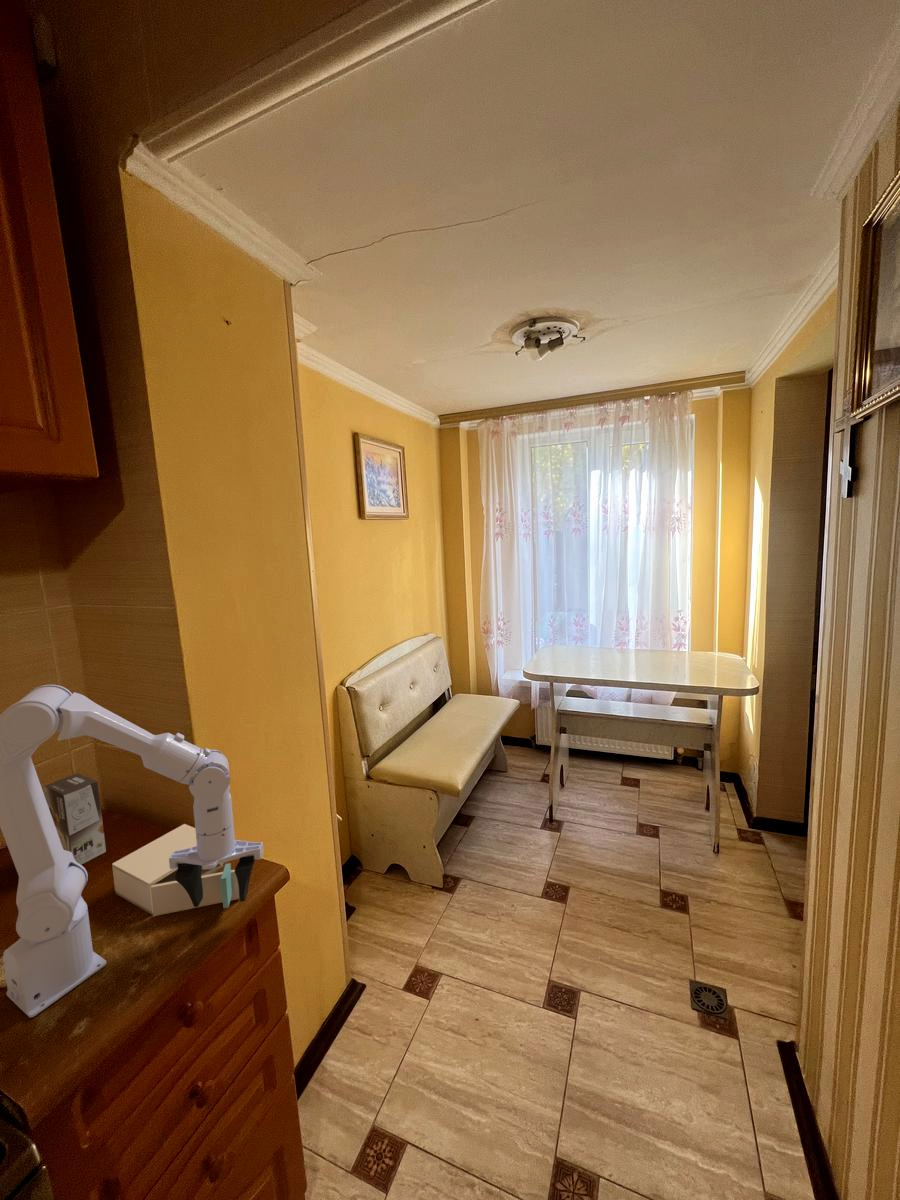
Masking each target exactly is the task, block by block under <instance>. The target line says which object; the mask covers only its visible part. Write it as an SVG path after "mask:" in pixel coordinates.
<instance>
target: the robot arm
mask: <svg viewBox="0 0 900 1200" xmlns="http://www.w3.org/2000/svg"><path fill="white" fill-rule="evenodd" d="M56 733H59V735H58V736H57V741H58V742H59V741H65V740H69V739H73V738H79V737H84V736H89V737H91V738H94V739H96V740H99V741H101V742H105V743H107V744H109V745H113V746H115V747H118V748H120V749H123V750H125V751H128V752H131V753H133V754H135V755H138V756H140V757H141V760H142V764H143V767H144V768H146V769H147V770H151V771H153V772H156V773H157V774H160V775H162V776H164V777H166V778H168V779H171V780H173V781H176V782H177V783H180V784H183V785H188V789H189V792H190V794H191V795H192V796H193V801H194V802H193V804H192V806H193V807H192V809H193V819H194V828H195V831H196V841H197V846H194V847H191V848H187V849H183V850H178V851H174V852H173V853H172V855H171V856H170V858H169V865H170V869H174V868H177V867H178V869H177V873H176V874H175V879H176V881H177V882H179V883H180V884H181V885H182V886H183V887H184V889H185V890H186V891H187V893H188V895H189V896H190V898H191V901H192V903H193V905H194V907H196V908H199V907H198V906H199V904H200V902H201V900H202V899H203V887H202V878H201V868H202V869H203V870H206V869H213V868H215V867H216V865H217V864H221V863H223V864H224V863H228V862H230V861H231V862H232V861H234V860H239V861H238V862H237V864H236V866H235V869H234V870H235V874H236V877H237V880H238V885H239V899H238V900H239V902H241V903H242V902H245V901H246V898H247V896H248V894H249V884H250V879H251V875H252V871H253V867H254V865H255V861H257V860H261V859H262V857H263V855H264V851H265V850H264V842H263V841H257V842H256V841H248V840H239V839H235V838H236V837H235V828H234V827H235V825H234V815H233V801H232V795H231V786H230V784H231V776H230V766H229V765H230V764H229V760H228V758H227V757H226V755H224V753H222V752H221V751H220V750H218V749H209V748H208V747H205V748H201V747H199V746H197V745H195V744H193V743H191V742H189V741H186V740H185V735H184V734H182V733H180V732H177V733H176V734H175V735H174V734H172V733H170V732H165V733H160V734H153V733H151V732H150V731H147V730H146V729H144V728H142V727H140V726H138V725H137V724H135V723H133V722H131V721H128V720H127V719H125V718H123V717H122V716H120V715H118V714H116V713H114V712H112V711H110V710H108V709H107V708H104V707H103V706H101V705H100V704H97V703H96V702H94V701H92V700H91V699H90V698H89V697H87V696H85V695H84V694H81V693H78V692H75V691H74V692H73V693H72V692H71V691H70V690H69V689H68V688H67V687H64V686H62V685H58V684H44V685H40V686H37V687H34V688H33V689H32V690H30V691H29V692H28V693H27V694H25V696H23V697H22V698H21V699H20V700H19V701H17V702H15V703H13V704H11V705H10V706H9V707H7V708H6V709H5V710H3V712H2V713H0V829H1V833H2V835H3V838H4V840H5V842H6V846H7V848H8V851H9V854H10V856H11V859H12V862H13V864H14V867H15V870H16V872H17V875H18V884H17V891H16V898H15V899H16V900H15V904H16V907H17V910H18V915H17V919H16V923H15V931H16V933H17V935H18V937H19V939H18V940H17V941H16V942H14V943H13V944H11V945H10V946H8V948H7V949H5V950H4V952H3V953H2V954H3V955H2V956H3V957H2V959H3V966H4V967H3V968H4V974H5V981H6V988H7V991H6V996H7V997H8V999H10V1001H12V1002H13V1003H14V1004H15V1005H16V1006H17V1007H18V1008H19V1009H20V1010H21V1011H22V1012H23V1013H24V1014H25V1015H27V1017H28V1018H34V1017H35V1016H37V1015H38V1014H40V1013H41V1012H42V1011H44V1010H45V1009H47V1008H48V1007H49V1006H51V1005H53V1004H54V1003H55V1002H56V1001H59V999H61V998H62V997H63V996H65V995H66V994H68V993H70V991H72V990H73V989H74V988H76V987H77V986H78V985H81V984H82V983H83V982H84V981H86V980H87V979H89V978H90V977H92V976H93V975H94V974H95V973H97V972H99V971H100V970H101V969H102V968H104V967H105V966H106V965H107V960H106V959H105V958H103V957H102V956H100V955H99V954H97V953H96V952H95V951H94V950H93V941H92V934H91V925H90V918H89V917H90V916H89V909H88V904H87V902H86V901H85V900H84V898H83V896H82V893H83V890H84V889H85V887H86V885H87V882H88V878H89V876H88V871H87V870H86V868H85V867H84V866H83V864H82V865H80V864H79V863H77V862H76V861H75V859H74V857H73V854H72V852H69V851H65V850H63V847H62V844H61V841H60V839H59V836H58V833H57V830H56V827H55V824H54V822H53V819H52V816H51V813H50V810H49V807H48V804H47V802H46V798H45V792H44V789H43V788H42V785H41V782H40V779H39V777H38V773H37V771H36V767H35V765H34V762H33V760H32V759H33V758H32V755H33V754H34V753H35V752H36V750H37V749H38V748H39V746H41V745H42V744H43V743H45V742H46V741H47V740H49V739H50V738H51V737H53V735H55V734H56Z"/></svg>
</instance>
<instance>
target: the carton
mask: <svg viewBox="0 0 900 1200" xmlns="http://www.w3.org/2000/svg"><path fill="white" fill-rule="evenodd" d="M194 846H197V841H196V831H195V827H194V826H190V825H189V824H186V823H183V824H181V825H180V826H178V827H176V828H175V829H172V830H171V831H169V832H167V833H165V834H163V835H162V836H160V837H158V838H156V839H154V840H153V841H151V842H149V843H147V844H146V845H144V846H141V847H139V848H138V849H137V850H134V851H133V852H130V853H129V854H127V855H125V856H123V857H121V858H120V859H118V860H116V861H114V862H113V863H111V866H112V874H113V875H112V876H113V884H114V892H115V895H117V896H118V897H121V898H123V899H124V900H126V901H127V902H129V903H130V904H133V905H134V906H136V907H138V908H140V909H141V910H143V911H145V912H147V914H150V915H152V916H154V913H153V904H152V894H151V886H152V885H156V884H161V883H166V882H172V881H176V879H175V874H176V873H177V869H178V867H177V868H174V869H170V865H169V858H170V856H171V855H172V853H173V852H174V851H178V850H183V849H187V848H191V847H194ZM224 867H225V864H224V863H221V864H217V865H216V867H215V868H213V869H206V870H203V869H202V868H201V876H204V875H209V874H214V873H217V872H218V871H220V869H223V868H224Z"/></svg>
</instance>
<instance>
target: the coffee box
mask: <svg viewBox="0 0 900 1200" xmlns="http://www.w3.org/2000/svg"><path fill="white" fill-rule="evenodd" d="M43 792H44V796H45V799H46V802H47V804H48V807H49V810H50V813H51V816H52V819H53V822H54V824H55V827H56V830H57V833H58V836H59V839H60V841H61V844H62V847H63V850H65V851H69V852H72V854H73V857H74V859H75V861H76V862H77V863H79V864H80V865H82V866H83V864H86V863H87V862H90V861H91V860H93V859H95V858H98V856H101V855H103V854H104V853H106V852H107V849H106V839H105V831H104V823H103V822H104V821H103V816H102V815H103V814H102V808H101V807H102V806H101V799H100V791H99V783H98V780H96V779H92V778H90V777H88V776H85V775H83V774H79V773H77V772H76V773H74V774H70V775H68V776H66V777H63V778H60V779H58V780H55V781H54V782H51V783H48V784H46V785H44V786H43Z"/></svg>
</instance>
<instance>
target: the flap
mask: <svg viewBox="0 0 900 1200" xmlns="http://www.w3.org/2000/svg"><path fill="white" fill-rule="evenodd" d="M231 864H232V863H231V862H229V863H228V862H227V863H225V864H224V867H223V868H224V869H223V871H221V872H215V873H213V874H209V875H204V876H201V878H202V887H203V899H202V900H201V902H200V904H199V906H198V907H194V905H193V903H192V901H191V898H190V896H189V895H188V893H187V891H186V890H185V889H184V887H183V886H182V885H181V884H180V883H179V882H177V881H172V882H166V883H161V884H156V885H152V886H151V894H152V904H153V913H154V915H153V917H156V916H162V915H166V914H171V913H175V912H181V911H187V910H191V909H195V908H196V909H197V908H200V907H201V908H202V907H205V906H210V905H215V904H220V903H222V905H223V906H222V907H223V909H228V908H229V907H230V904H231V901H235V900H240V899H239V885H238V880H237V877H236V874H235V869H232V865H231Z"/></svg>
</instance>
